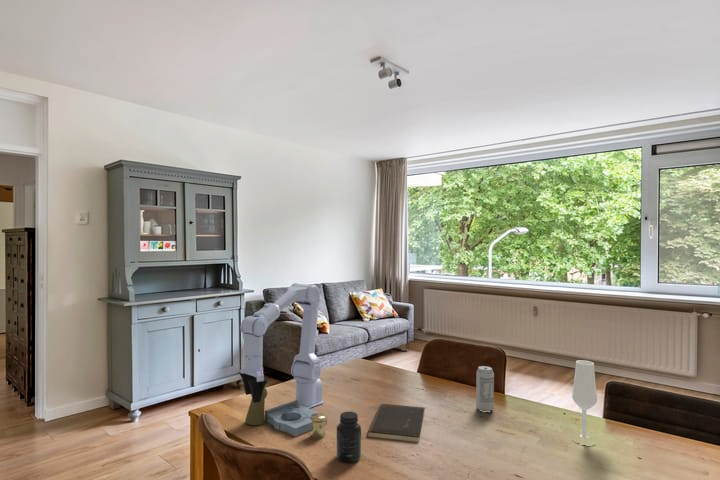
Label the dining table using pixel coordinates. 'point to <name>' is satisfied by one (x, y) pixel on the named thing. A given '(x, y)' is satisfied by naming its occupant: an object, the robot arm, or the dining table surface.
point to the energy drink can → (485, 388)
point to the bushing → (318, 425)
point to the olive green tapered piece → (256, 411)
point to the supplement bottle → (348, 438)
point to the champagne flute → (584, 389)
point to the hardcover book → (397, 422)
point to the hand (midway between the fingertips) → (252, 397)
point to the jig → (290, 418)
